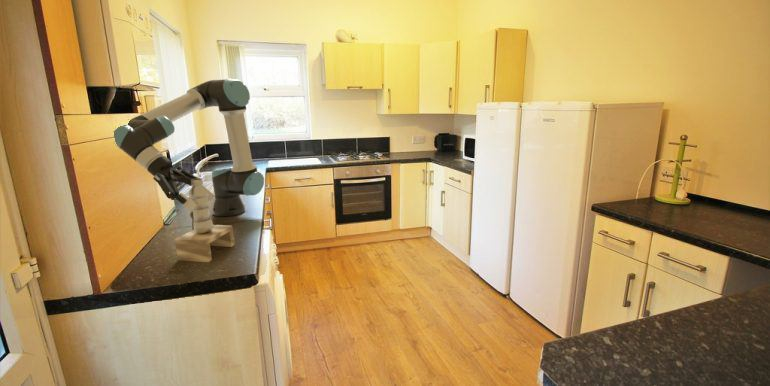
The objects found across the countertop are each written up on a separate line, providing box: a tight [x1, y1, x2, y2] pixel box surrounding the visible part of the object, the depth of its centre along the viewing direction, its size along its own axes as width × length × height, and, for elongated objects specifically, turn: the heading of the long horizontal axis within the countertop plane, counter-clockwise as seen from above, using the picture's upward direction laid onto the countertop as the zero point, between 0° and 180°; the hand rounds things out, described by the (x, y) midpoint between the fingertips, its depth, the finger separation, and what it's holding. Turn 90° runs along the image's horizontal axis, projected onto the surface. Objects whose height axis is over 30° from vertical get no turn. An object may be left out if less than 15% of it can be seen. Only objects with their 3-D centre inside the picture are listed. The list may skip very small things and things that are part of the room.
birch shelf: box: [174, 224, 235, 263], centre depth 134 cm, size 16×12×8 cm
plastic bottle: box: [188, 177, 214, 233], centre depth 130 cm, size 6×7×20 cm
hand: (203, 203), depth 130 cm, fingers open, 13 cm apart
